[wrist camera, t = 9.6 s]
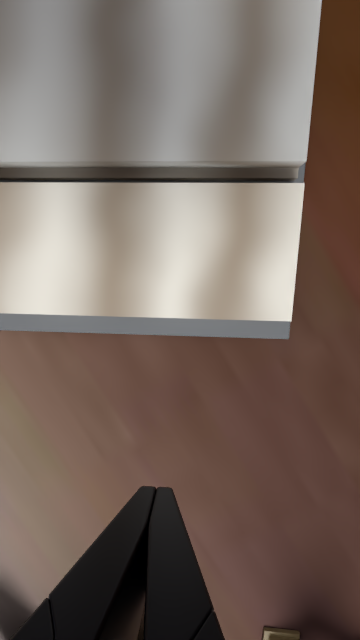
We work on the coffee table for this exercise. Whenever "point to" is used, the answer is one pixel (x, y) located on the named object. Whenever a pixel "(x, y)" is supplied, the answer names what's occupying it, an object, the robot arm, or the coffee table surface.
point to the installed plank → (156, 89)
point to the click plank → (150, 249)
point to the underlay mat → (147, 323)
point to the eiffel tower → (280, 634)
